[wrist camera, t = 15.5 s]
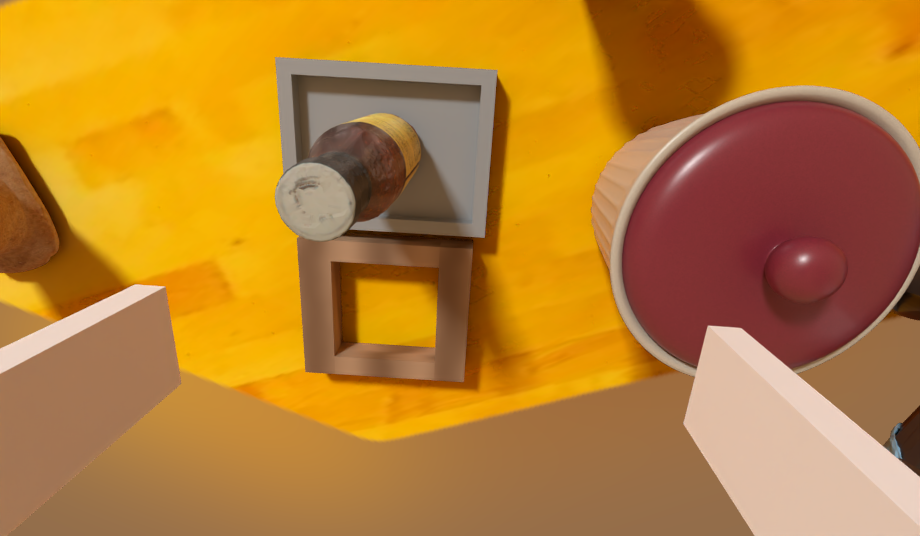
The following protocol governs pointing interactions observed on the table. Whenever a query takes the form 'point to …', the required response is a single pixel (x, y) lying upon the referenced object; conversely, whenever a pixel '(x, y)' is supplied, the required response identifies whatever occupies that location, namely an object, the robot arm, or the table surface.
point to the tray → (422, 106)
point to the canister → (762, 225)
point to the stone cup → (22, 220)
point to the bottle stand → (378, 359)
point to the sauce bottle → (348, 176)
